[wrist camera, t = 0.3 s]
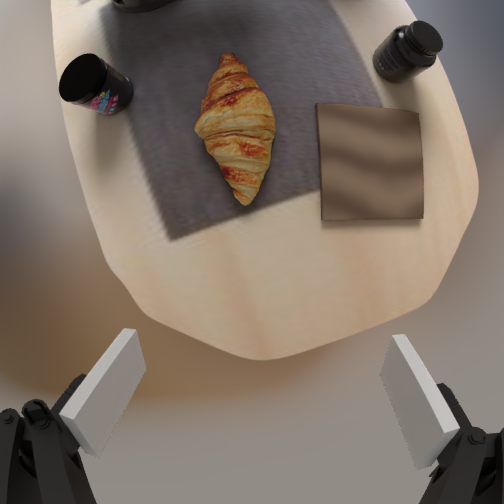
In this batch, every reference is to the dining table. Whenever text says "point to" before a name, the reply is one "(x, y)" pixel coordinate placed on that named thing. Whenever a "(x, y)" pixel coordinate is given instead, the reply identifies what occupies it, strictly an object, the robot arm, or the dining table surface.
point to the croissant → (237, 127)
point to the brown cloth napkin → (369, 163)
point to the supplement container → (95, 85)
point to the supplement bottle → (407, 52)
